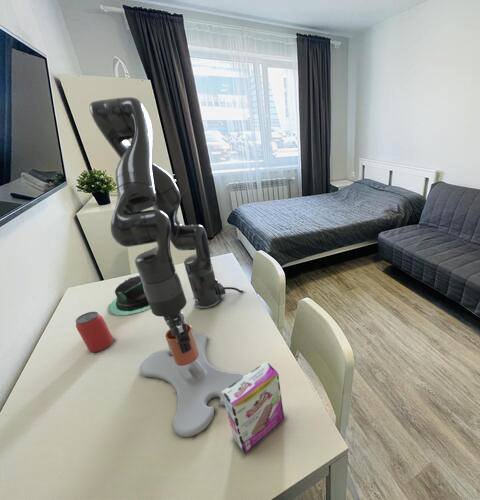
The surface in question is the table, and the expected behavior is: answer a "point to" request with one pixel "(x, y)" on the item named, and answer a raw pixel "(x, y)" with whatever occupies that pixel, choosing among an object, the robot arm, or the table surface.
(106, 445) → the table surface
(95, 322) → the beer can
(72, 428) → the table surface
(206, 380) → the holder
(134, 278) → the black and green hat
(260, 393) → the candy bar box
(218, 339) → the table surface
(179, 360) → the cup
